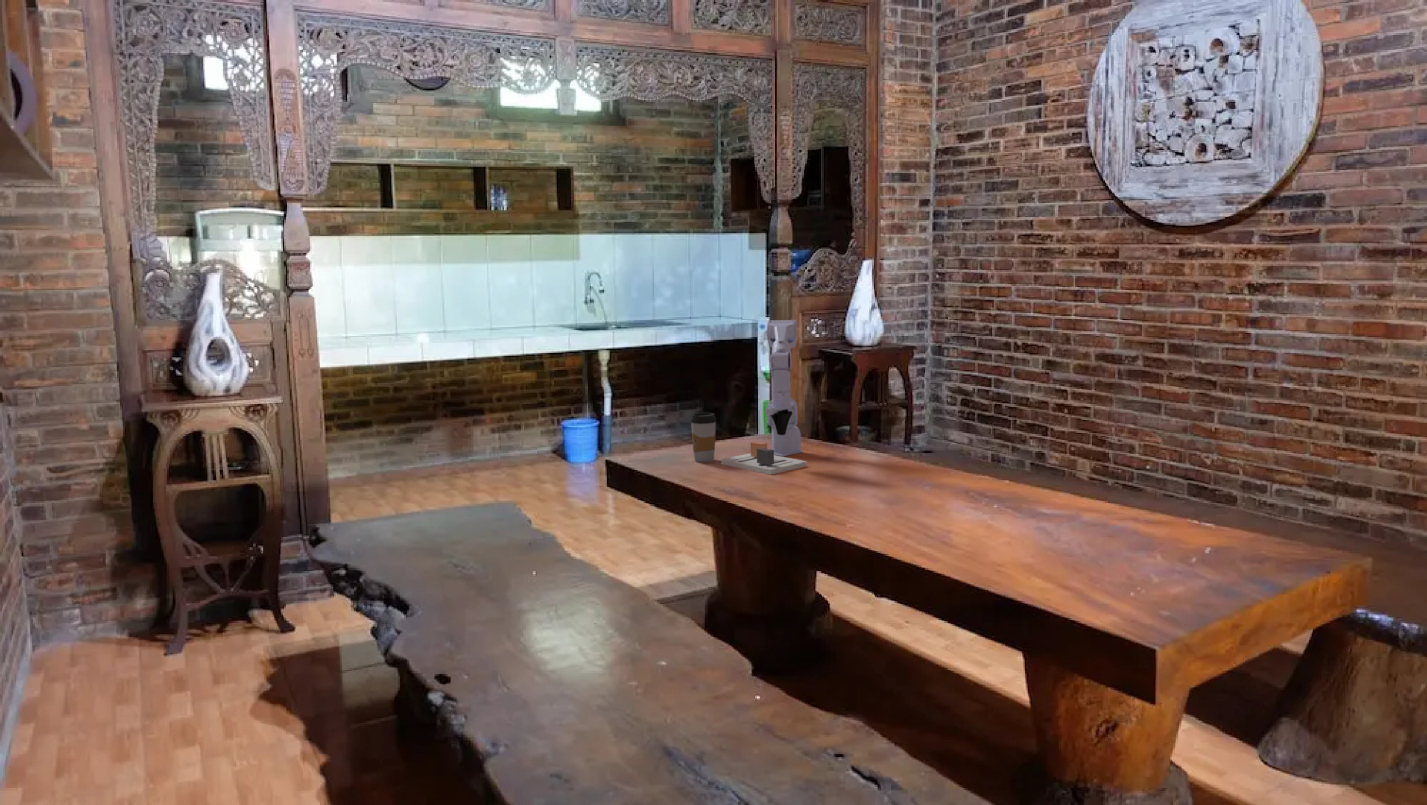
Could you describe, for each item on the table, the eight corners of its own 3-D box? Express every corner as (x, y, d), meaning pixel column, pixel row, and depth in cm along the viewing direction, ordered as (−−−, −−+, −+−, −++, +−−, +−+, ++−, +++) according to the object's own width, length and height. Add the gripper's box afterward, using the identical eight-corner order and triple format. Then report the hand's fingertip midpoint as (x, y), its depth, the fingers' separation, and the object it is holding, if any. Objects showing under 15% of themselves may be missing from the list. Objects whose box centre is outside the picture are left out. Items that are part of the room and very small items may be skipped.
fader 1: (756, 454, 316) (756, 441, 316) (767, 456, 313) (767, 443, 312) (750, 455, 315) (750, 442, 314) (761, 458, 311) (761, 444, 310)
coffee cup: (687, 459, 320) (686, 413, 318) (710, 456, 324) (709, 411, 321) (697, 464, 313) (696, 417, 311) (721, 461, 316) (720, 415, 314)
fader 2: (762, 461, 306) (762, 447, 305) (774, 464, 302) (773, 449, 301) (757, 462, 304) (756, 448, 303) (768, 465, 300) (768, 451, 300)
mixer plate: (757, 456, 323) (757, 451, 323) (806, 466, 307) (806, 461, 307) (721, 464, 312) (720, 459, 312) (770, 474, 296) (770, 469, 296)
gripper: (782, 387, 312) (782, 429, 315) (757, 393, 301) (757, 437, 303) (801, 388, 308) (801, 431, 311) (777, 394, 297) (777, 439, 299)
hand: (781, 434), depth 306 cm, fingers closed
